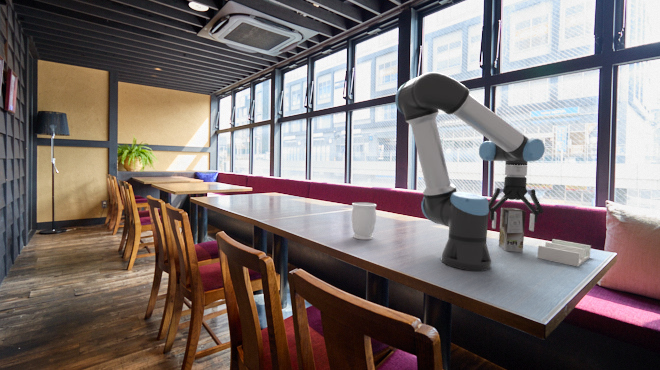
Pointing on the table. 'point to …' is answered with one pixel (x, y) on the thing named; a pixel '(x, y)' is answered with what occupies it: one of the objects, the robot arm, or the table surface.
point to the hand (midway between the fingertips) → (512, 229)
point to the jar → (363, 220)
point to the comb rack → (564, 252)
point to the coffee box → (512, 229)
